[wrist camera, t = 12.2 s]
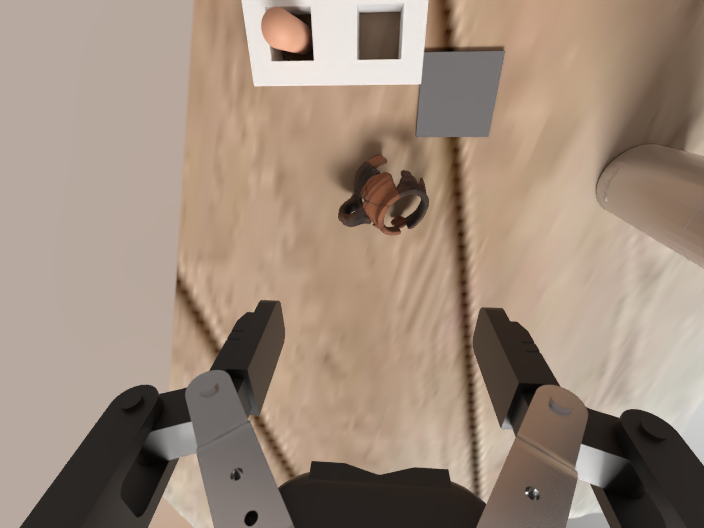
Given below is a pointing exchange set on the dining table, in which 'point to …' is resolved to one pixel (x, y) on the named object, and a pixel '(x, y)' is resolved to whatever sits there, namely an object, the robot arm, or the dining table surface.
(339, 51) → the socket block
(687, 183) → the robot arm
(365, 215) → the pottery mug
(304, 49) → the dowel
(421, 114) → the mat
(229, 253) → the dining table surface
